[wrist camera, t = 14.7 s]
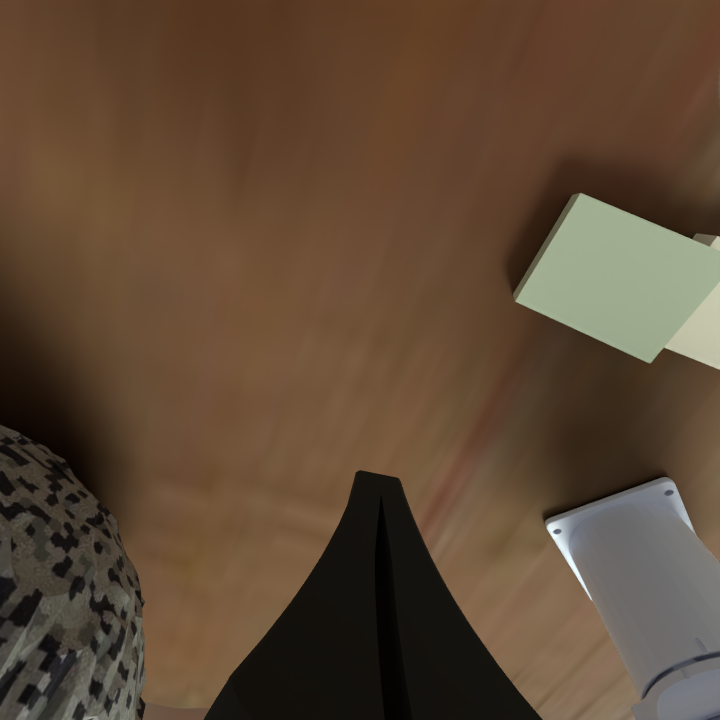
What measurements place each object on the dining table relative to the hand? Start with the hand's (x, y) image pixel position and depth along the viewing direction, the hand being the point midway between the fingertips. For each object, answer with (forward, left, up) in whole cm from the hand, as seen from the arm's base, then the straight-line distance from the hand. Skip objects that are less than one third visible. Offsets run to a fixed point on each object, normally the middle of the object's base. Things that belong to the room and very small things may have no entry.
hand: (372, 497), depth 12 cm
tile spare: (+1, -10, -9) cm, 13 cm away
